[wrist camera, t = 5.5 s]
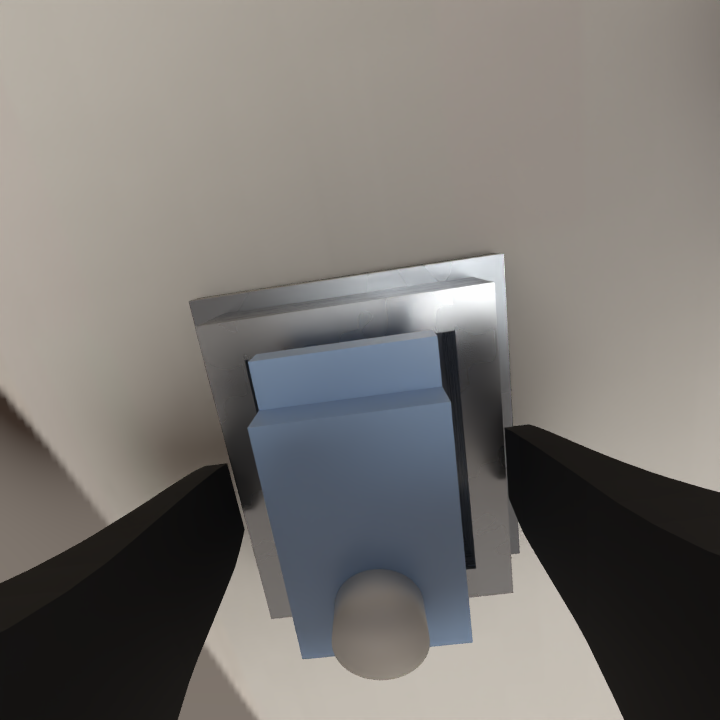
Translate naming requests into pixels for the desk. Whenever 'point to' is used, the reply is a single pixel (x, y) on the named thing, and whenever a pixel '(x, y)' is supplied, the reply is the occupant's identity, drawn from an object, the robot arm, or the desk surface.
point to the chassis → (370, 320)
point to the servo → (363, 499)
